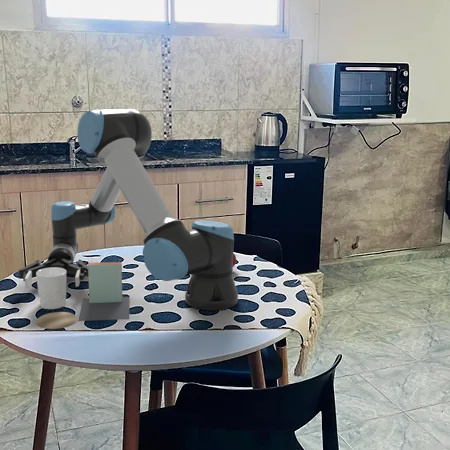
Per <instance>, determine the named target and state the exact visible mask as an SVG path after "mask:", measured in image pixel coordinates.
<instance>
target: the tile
mask: <svg viewBox="0 0 450 450" xmlns="http://www.w3.org/2000/svg"><path fill="white" fill-rule="evenodd" d="M122 264H123V262H122V261H111V262H109V261H108V262H88V264H87V266H88V277H87V278H88V298H89V303H107V302H122V297H123V270H122V268H123V267H122Z"/></svg>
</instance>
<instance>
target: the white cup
mask: <svg viewBox="0 0 450 450" xmlns="http://www.w3.org/2000/svg"><path fill="white" fill-rule="evenodd" d="M36 283H37V284H36V285H37V293H38V298H39V305H40V307H41V309H45V310H55V309H60V308H63V307H65V306H66V304H67V273H66V270H65V269H63V268H58V267H51V268H44V269H41V270H39V271H37V272H36Z"/></svg>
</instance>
